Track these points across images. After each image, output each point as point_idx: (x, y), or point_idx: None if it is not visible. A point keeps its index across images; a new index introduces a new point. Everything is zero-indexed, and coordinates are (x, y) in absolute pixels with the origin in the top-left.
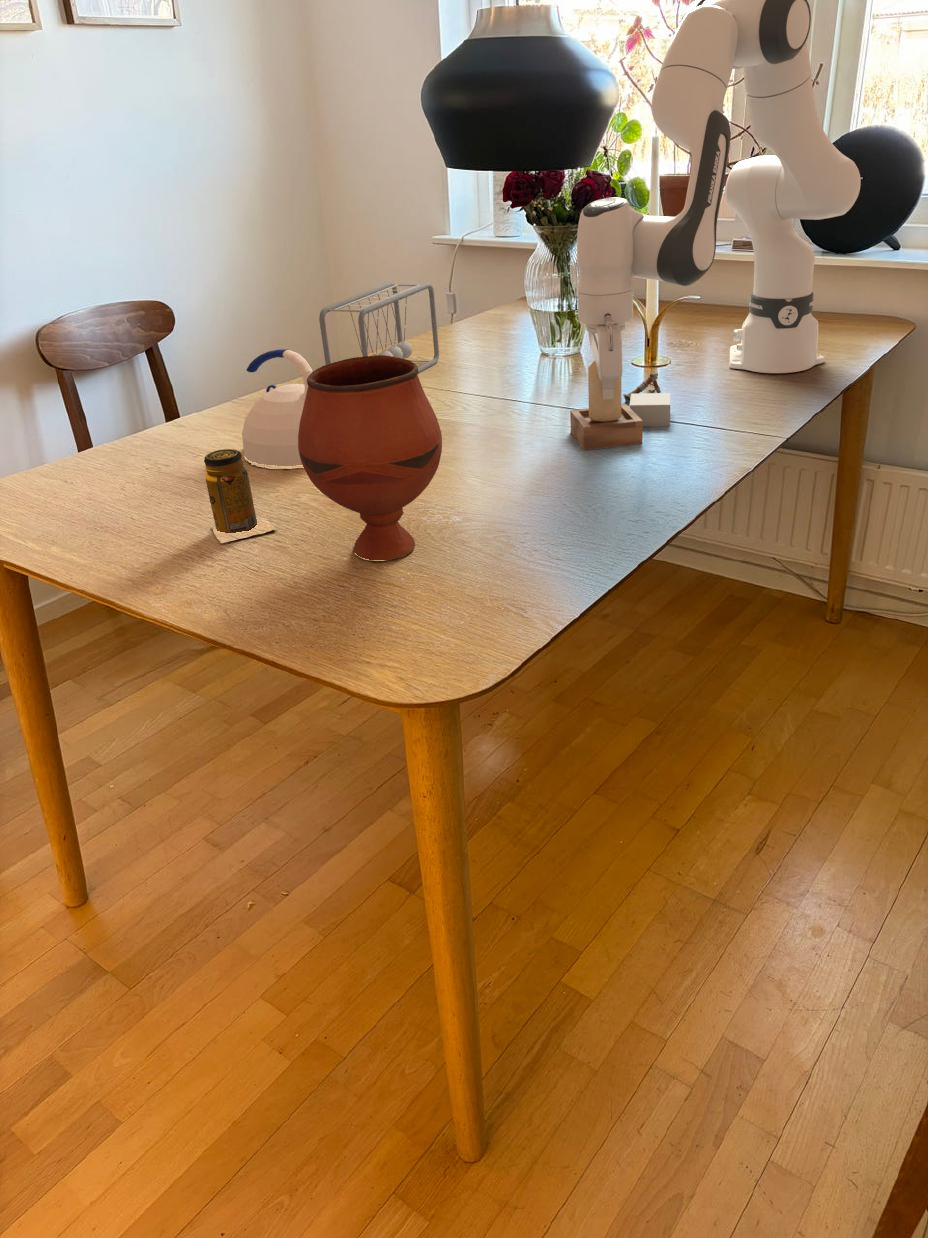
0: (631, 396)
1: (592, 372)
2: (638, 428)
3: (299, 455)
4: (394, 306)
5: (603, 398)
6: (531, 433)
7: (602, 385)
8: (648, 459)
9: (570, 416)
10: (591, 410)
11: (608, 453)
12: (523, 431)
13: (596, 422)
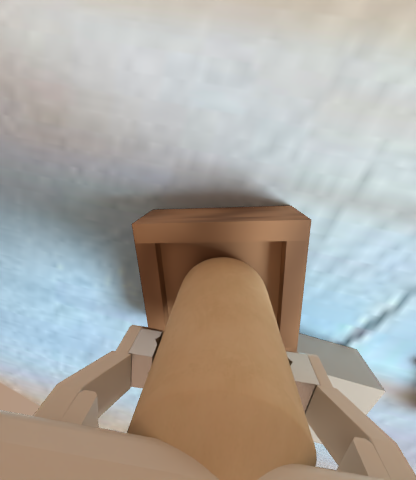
0: (361, 385)
1: (167, 387)
2: None
3: None
4: None
5: (132, 325)
6: (331, 94)
7: (92, 363)
8: (83, 307)
9: (302, 215)
10: (203, 271)
11: (125, 252)
12: (363, 69)
13: None
